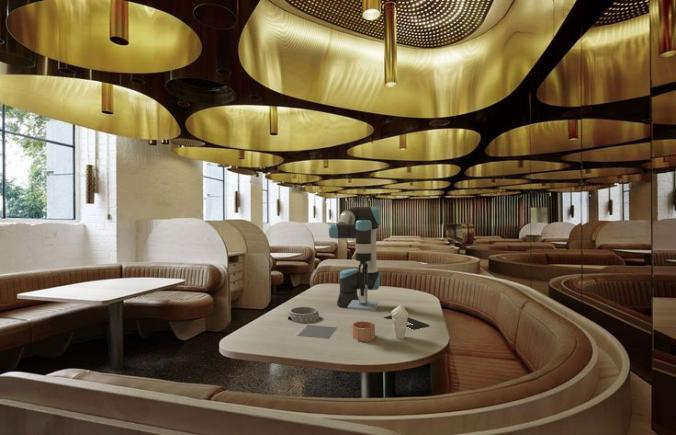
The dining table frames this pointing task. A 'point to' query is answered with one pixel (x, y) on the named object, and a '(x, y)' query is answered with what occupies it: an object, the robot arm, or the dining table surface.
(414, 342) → the dining table surface
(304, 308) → the dog bowl
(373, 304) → the lid
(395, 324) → the soft serve ice cream cone
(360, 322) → the bowl
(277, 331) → the dining table surface
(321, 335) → the mat
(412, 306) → the dining table surface
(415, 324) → the black flat irregular plate
